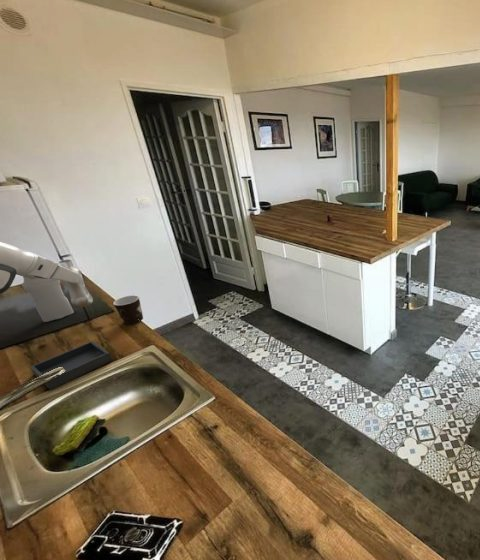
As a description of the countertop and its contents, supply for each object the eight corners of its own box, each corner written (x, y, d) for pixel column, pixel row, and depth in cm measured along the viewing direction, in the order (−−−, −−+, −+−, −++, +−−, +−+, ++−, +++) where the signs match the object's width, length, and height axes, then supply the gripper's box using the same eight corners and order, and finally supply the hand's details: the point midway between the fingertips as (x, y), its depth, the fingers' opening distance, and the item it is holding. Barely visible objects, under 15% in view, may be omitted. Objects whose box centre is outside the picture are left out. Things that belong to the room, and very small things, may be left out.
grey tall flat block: (73, 310, 141) (52, 266, 132) (76, 313, 139) (54, 268, 130) (40, 320, 133) (15, 274, 124) (43, 323, 131) (18, 277, 122)
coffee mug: (134, 314, 140) (126, 294, 135) (151, 315, 139) (144, 296, 134) (109, 328, 129) (100, 308, 125) (127, 330, 128) (119, 309, 124)
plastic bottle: (94, 300, 134) (75, 257, 126) (95, 306, 130) (76, 261, 121) (73, 305, 130) (53, 260, 122) (74, 311, 125) (53, 265, 117)
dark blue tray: (50, 390, 98) (45, 381, 97) (34, 374, 104) (29, 366, 103) (112, 360, 111) (109, 352, 110) (95, 348, 117) (92, 340, 116)
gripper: (10, 270, 115) (54, 283, 127) (46, 278, 109) (88, 291, 122) (20, 255, 117) (62, 269, 129) (57, 262, 111) (97, 276, 124)
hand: (75, 280), depth 126 cm, fingers closed on plastic bottle, 6 cm apart
